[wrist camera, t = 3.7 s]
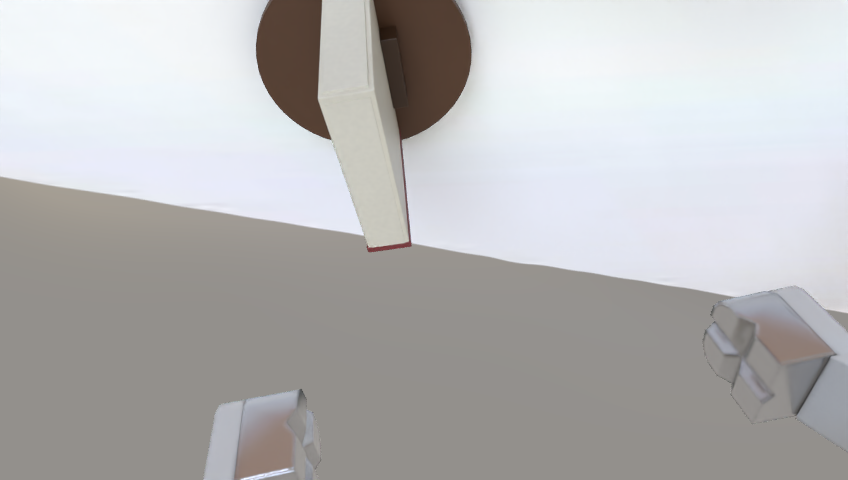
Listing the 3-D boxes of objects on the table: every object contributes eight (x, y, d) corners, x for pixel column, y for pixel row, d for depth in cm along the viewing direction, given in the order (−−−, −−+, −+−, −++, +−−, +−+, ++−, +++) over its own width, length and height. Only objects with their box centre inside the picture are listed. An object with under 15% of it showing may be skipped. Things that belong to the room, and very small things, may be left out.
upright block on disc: (220, -27, 34) (184, 101, 27) (465, -66, 34) (500, 53, 26) (295, 151, 47) (286, 271, 39) (473, 125, 46) (499, 242, 39)
